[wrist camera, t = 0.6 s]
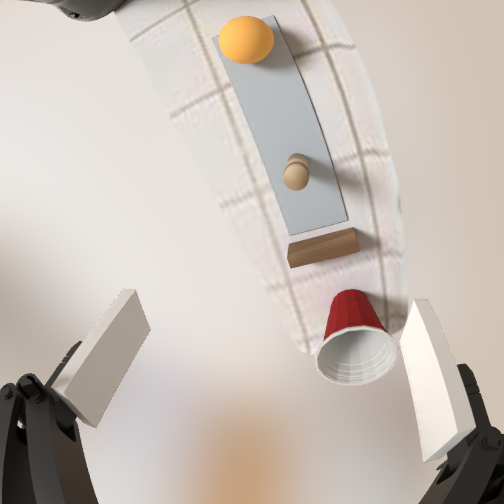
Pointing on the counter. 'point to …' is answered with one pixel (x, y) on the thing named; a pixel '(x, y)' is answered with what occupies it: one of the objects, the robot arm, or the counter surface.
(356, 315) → the plastic cup
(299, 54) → the counter surface
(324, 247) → the board
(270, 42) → the ball
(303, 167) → the pin
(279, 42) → the lane mark
